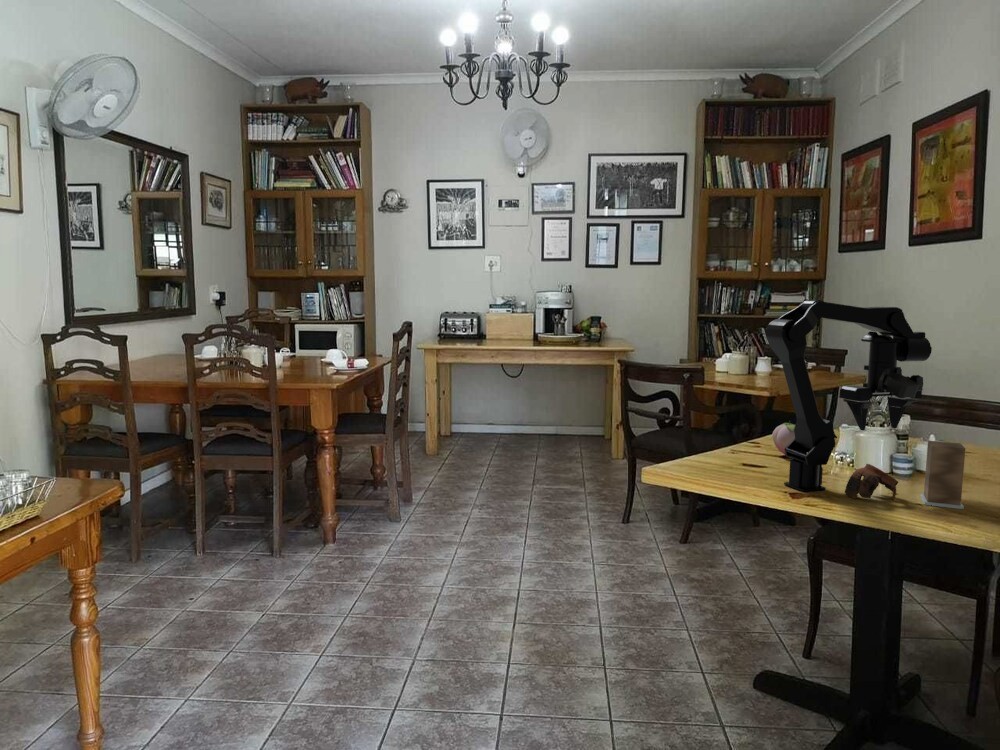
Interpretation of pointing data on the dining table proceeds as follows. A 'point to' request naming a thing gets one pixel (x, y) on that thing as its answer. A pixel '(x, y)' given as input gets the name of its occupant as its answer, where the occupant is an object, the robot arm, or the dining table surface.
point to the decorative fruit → (783, 436)
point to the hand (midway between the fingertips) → (878, 429)
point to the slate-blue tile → (940, 503)
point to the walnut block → (944, 472)
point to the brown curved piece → (869, 482)
